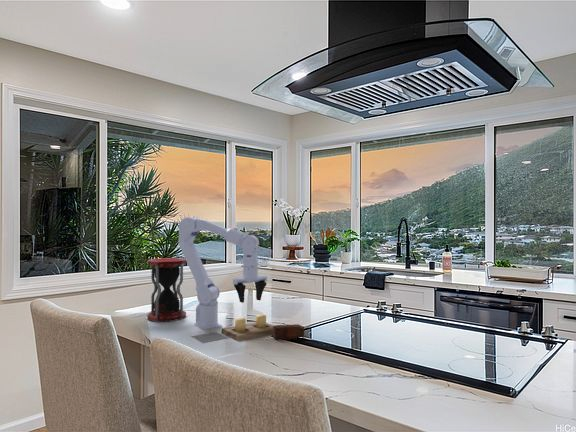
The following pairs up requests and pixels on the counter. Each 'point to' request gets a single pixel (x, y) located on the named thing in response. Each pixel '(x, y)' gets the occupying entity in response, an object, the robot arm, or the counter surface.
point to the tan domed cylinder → (260, 321)
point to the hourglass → (166, 289)
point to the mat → (209, 337)
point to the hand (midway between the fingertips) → (250, 301)
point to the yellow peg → (240, 325)
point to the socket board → (248, 331)
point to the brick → (287, 331)
